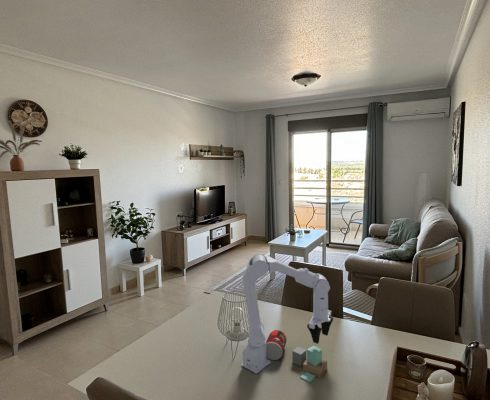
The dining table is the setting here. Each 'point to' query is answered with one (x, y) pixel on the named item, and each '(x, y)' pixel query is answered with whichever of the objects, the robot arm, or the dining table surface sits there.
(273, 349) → the canned food
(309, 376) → the swatch
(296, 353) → the grey block
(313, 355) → the teal block
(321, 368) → the walnut base
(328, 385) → the dining table surface
